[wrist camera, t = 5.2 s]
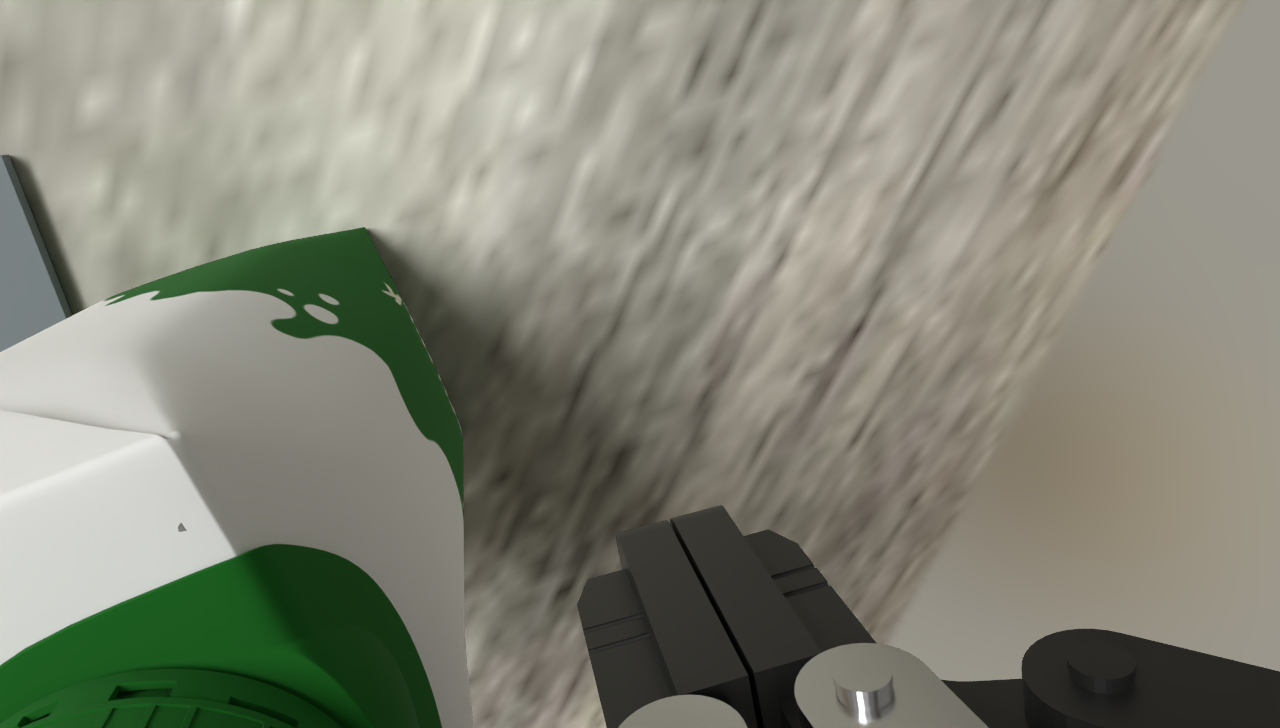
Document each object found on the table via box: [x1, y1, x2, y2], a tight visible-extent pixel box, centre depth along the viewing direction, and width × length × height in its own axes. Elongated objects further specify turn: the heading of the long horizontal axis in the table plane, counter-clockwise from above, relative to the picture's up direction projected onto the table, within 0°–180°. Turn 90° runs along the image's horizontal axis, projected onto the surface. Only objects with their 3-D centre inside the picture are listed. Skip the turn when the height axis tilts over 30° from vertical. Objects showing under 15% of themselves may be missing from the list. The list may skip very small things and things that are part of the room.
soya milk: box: [0, 227, 474, 728], centre depth 16 cm, size 9×9×20 cm
